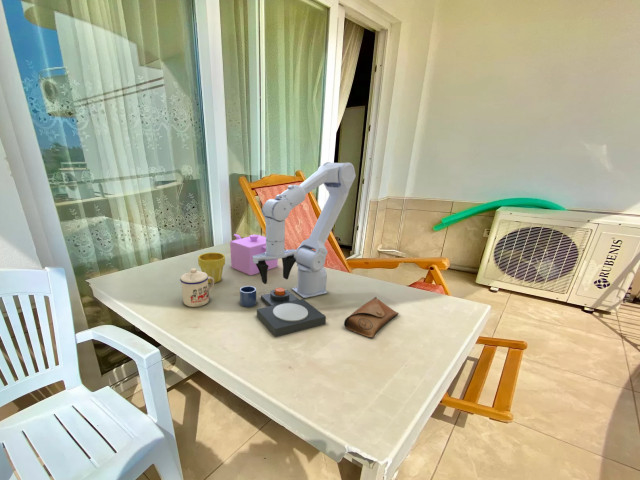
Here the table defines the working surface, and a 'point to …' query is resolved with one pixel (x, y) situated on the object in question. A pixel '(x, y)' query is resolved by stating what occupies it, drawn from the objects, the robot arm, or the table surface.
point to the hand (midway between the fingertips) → (275, 280)
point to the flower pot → (212, 265)
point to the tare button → (279, 291)
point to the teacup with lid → (195, 288)
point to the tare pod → (278, 298)
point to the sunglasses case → (369, 318)
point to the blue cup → (248, 296)
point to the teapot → (248, 253)
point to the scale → (290, 317)
